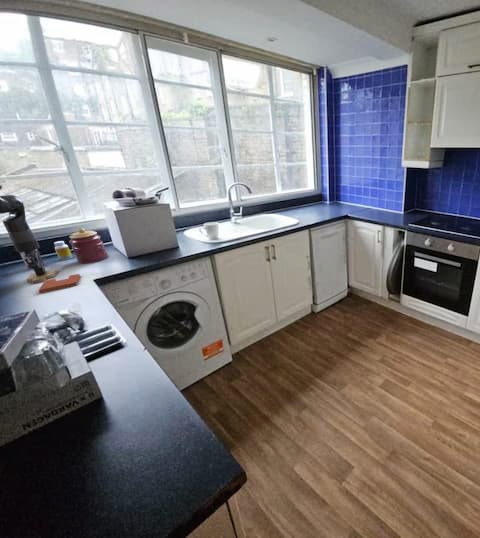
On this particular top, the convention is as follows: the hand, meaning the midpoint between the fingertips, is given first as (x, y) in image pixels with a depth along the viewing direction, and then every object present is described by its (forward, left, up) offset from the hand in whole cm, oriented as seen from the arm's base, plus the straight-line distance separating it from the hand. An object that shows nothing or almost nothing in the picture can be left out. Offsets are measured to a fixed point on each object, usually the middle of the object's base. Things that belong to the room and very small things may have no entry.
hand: (41, 273), depth 142 cm
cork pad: (0, -2, -2) cm, 2 cm away
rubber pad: (+9, -18, -2) cm, 20 cm away
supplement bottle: (+5, +28, -2) cm, 29 cm away
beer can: (-6, +21, -2) cm, 22 cm away
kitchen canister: (+18, +15, -2) cm, 24 cm away
